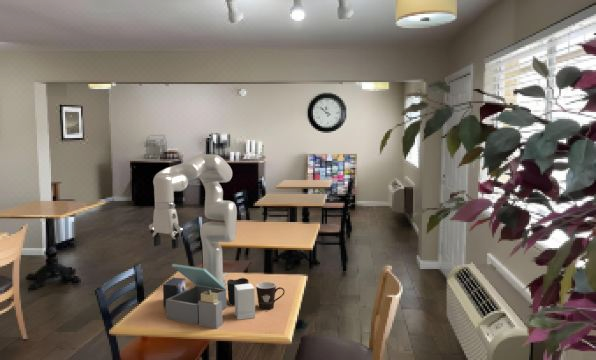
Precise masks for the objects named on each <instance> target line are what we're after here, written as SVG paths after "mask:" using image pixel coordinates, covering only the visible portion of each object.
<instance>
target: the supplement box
mask: <svg viewBox="0 0 596 360" xmlns="http://www.w3.org/2000/svg"><path fill="white" fill-rule="evenodd" d="M234 291H235V306H234V315H235V317H236V318H237V320H246V319H247V320H249V319H254V318H256V304H255V302H256V299H255V297H256V295H255V286H254V285H253V284H252V283H248V284H240V285H234Z"/></svg>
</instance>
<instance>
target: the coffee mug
mask: <svg viewBox="0 0 596 360" xmlns="http://www.w3.org/2000/svg"><path fill="white" fill-rule="evenodd" d="M255 289H256V296H257V303H258V309H259V310H260V311H271V310H273V309H274V308H275V302H277V301H278V300H279V299H281V298H282V297H283V296H285V291H286V290H285V289H284V288H283V287H277V285H276V283H274V282H271V281H266V282H264V281H263V282H262V281H261V282H259V283H257V284H255ZM278 290H282V291H283V292H282V294H281V295H280V296H278V297H277V298H275V296H276V292H278Z"/></svg>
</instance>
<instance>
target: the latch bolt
mask: <svg viewBox="0 0 596 360" xmlns="http://www.w3.org/2000/svg"><path fill="white" fill-rule="evenodd" d="M201 301H205V302H210V303H214V302H216V301H218V293H213V292H211V290H207V291H205V292H203V293H201Z"/></svg>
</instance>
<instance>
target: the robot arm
mask: <svg viewBox="0 0 596 360" xmlns="http://www.w3.org/2000/svg"><path fill="white" fill-rule="evenodd" d="M232 177H233V170H232V168H231V166H230V165H229V164H228V162H227V161H226V160H225V159H224V158H223V157H222V156H220V155H218V154H215V153H214V154H213V153H212V154H209V153H208V154H206V153H205V154H201V153H200V154H197V155H195V156H193V157H191V158H190V159H189V160H187V161H186V162H183V163H179V164H176V165H172V166H169V167H165V168H164V169H163V168H162V170H160V171H159V172H157V173H156V174H155V175H154V177H153V180H152V183H153V189H154V190H153V191H154V192H153V193H154V210H153V216H152V217H153V218H152V223H151V224H150V223H149V225H148V228H149V230H150V233H151V234H152V237H153V247H158V246H161V243H162V242H161V235H160V234H165V235H169V236H170V237H171V249H173V250H174V249H178V248H179V238H180V237H181V235H182V233H183V230H184V229H183V227H181V226H180V225H179V217H178V213H177V208H175V207H176V204H175V202H174V201H175V196H174V195H175V193H174V192H182V191H184V190H186V188H187V187H188V184H189V181H194V180H196V179H197V178H199V180H200V181H201V183H202V185H203V187H204V191H205V197H204V199H205V200H204V216H205V218H206V219H208V220H209V219H210V220H217V221H218V220H220V221H224V222H216V221H207V222H204V223H203V224H201V226H200V228H199V234H200V239H201V246H202V268H205V269H206V270H207V271H208V272H209V273H211V274H212V275H213V276H214V277H215V278H216V279H217V280H219V281H220V282H221V283H222V284H223V285H224V286H225V287H226V285H227V281H226V280H225V278H226V277H227V276H228V273H227V272H224V270H223V269H224V267H223V248H222V245H221V243H232V242H234V240H235V238H236V234H237V233H236V232H237V231H236V230H237V215H238V210H237V208H238V207H237V206H236V203H235V202H234V201H231V200H224V198H223V197H224V190H223V188H222V185H221V184H220V183H228V182H230V181H231V179H233V178H232ZM203 287H204V286H203ZM209 288H210V287H209Z"/></svg>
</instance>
